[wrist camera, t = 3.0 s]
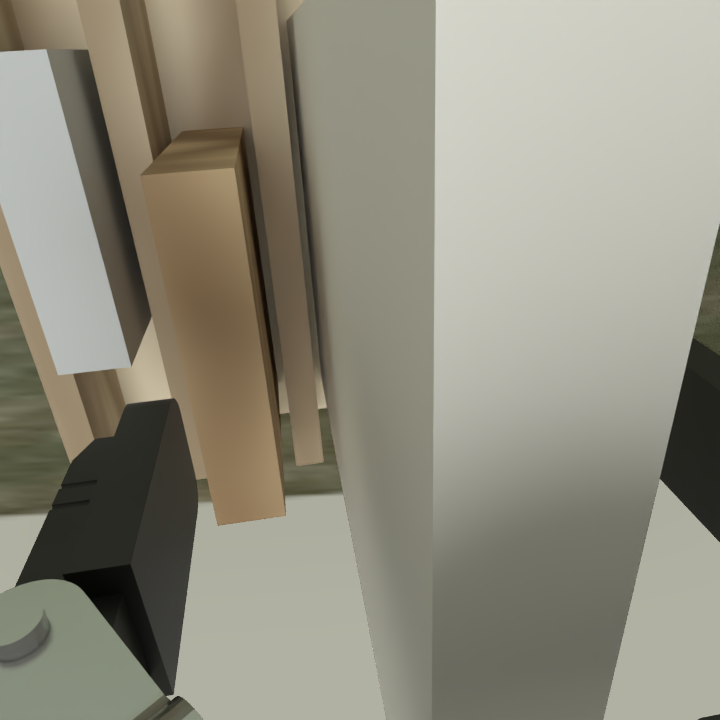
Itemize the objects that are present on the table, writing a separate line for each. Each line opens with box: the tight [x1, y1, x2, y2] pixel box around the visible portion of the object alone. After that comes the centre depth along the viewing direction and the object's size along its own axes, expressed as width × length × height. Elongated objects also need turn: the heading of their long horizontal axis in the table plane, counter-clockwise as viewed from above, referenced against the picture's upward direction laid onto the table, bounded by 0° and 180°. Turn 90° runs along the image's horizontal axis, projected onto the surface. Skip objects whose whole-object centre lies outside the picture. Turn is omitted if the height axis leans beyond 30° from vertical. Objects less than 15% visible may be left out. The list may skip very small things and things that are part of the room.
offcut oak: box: [140, 127, 286, 526], centre depth 19 cm, size 2×10×8 cm, turn 3°
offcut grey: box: [0, 49, 152, 375], centre depth 17 cm, size 2×8×6 cm, turn 3°
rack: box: [0, 0, 327, 480], centre depth 20 cm, size 16×16×5 cm
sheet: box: [286, 0, 720, 720], centre depth 14 cm, size 2×13×18 cm, turn 3°
